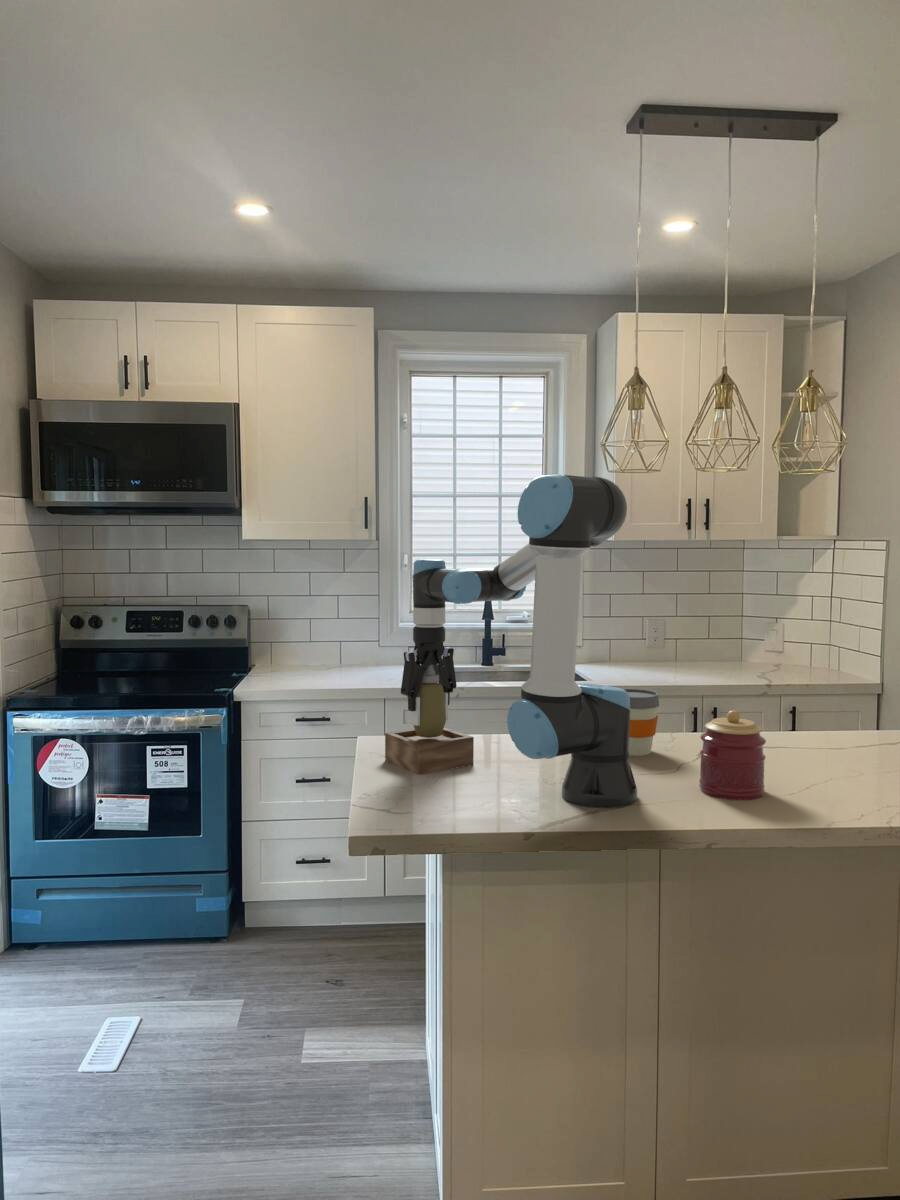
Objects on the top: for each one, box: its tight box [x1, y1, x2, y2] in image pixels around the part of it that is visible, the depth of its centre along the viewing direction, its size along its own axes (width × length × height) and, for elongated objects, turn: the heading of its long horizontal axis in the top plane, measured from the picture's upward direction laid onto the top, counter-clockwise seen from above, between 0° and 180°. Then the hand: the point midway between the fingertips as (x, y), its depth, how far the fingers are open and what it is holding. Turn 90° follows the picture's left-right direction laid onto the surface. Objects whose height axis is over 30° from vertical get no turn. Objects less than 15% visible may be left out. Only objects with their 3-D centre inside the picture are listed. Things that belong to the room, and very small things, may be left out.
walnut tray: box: [384, 727, 475, 776], centre depth 205 cm, size 15×15×7 cm
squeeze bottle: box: [413, 665, 447, 738], centre depth 204 cm, size 8×8×18 cm
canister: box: [698, 709, 767, 801], centre depth 181 cm, size 13×13×18 cm
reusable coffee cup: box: [623, 688, 660, 757], centre depth 216 cm, size 13×13×15 cm
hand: (429, 721), depth 205 cm, fingers closed on squeeze bottle, 8 cm apart
